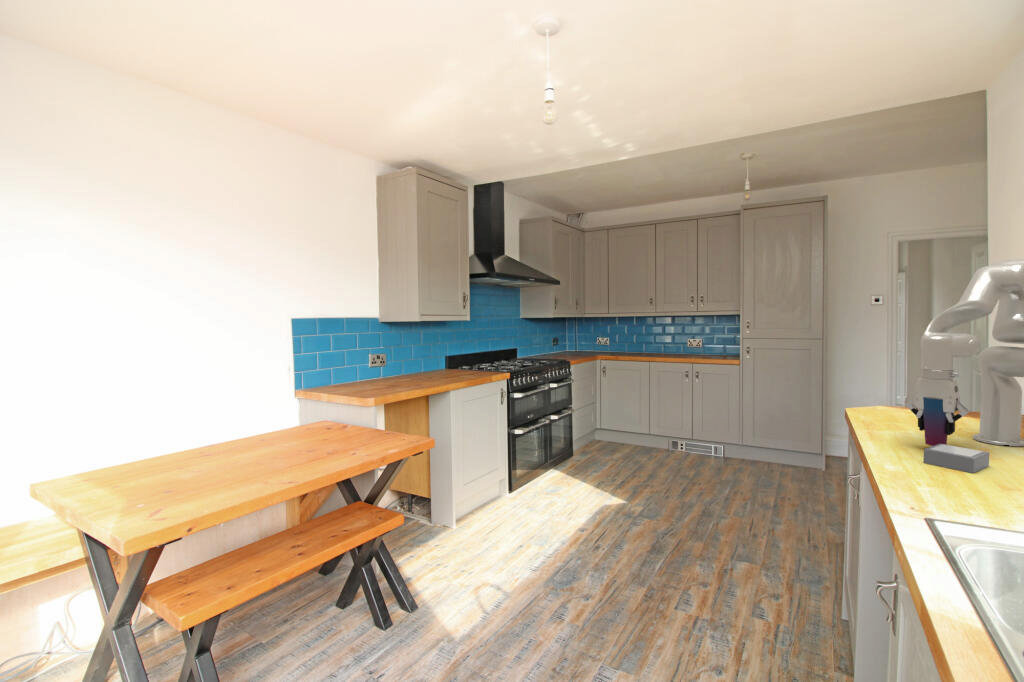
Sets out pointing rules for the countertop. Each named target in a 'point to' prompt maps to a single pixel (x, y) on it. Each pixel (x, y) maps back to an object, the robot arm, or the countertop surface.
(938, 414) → the cup
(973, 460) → the riser
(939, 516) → the countertop surface
